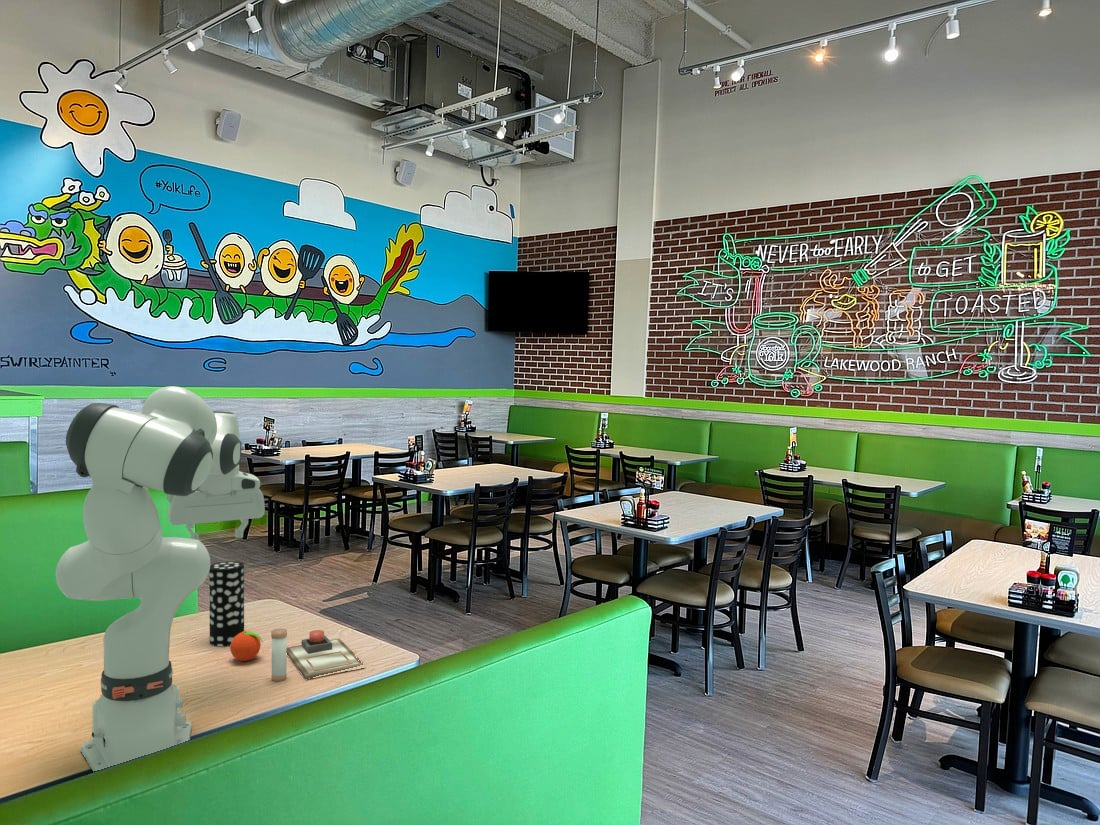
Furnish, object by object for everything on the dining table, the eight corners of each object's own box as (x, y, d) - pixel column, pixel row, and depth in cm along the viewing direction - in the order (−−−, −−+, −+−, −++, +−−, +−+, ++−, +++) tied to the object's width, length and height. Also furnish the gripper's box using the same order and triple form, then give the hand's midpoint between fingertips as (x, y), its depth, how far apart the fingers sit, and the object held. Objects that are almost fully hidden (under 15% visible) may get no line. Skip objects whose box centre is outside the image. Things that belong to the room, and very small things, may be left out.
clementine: (269, 655, 190) (269, 627, 190) (256, 666, 184) (256, 637, 183) (239, 653, 191) (239, 625, 191) (224, 664, 184) (224, 635, 184)
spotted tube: (236, 647, 196) (235, 570, 194) (203, 646, 196) (203, 569, 194) (249, 635, 204) (249, 561, 203) (218, 634, 204) (217, 560, 203)
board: (364, 668, 184) (364, 657, 184) (305, 680, 176) (305, 668, 176) (339, 642, 201) (339, 631, 200) (284, 651, 193) (284, 641, 193)
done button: (326, 640, 193) (326, 633, 193) (311, 643, 191) (311, 636, 191) (321, 636, 196) (321, 629, 196) (307, 638, 194) (307, 631, 194)
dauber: (288, 679, 176) (288, 632, 176) (273, 682, 175) (273, 634, 174) (284, 674, 179) (284, 627, 179) (269, 677, 177) (269, 630, 177)
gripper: (169, 486, 166) (169, 548, 167) (267, 481, 177) (265, 538, 179) (165, 480, 171) (165, 540, 173) (260, 475, 182) (259, 531, 184)
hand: (217, 539), depth 176 cm, fingers open, 8 cm apart
